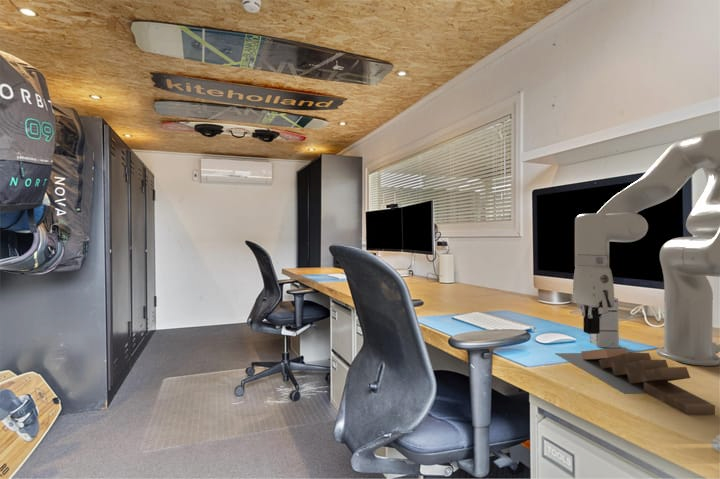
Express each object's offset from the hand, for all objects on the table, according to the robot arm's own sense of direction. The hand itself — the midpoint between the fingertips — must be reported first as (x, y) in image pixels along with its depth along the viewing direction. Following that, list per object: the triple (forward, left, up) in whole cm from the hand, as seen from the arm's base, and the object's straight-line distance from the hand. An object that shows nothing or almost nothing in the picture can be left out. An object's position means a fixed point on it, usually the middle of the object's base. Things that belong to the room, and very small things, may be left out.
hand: (591, 332), depth 97 cm
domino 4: (0, +16, -6) cm, 17 cm away
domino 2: (0, +7, -6) cm, 9 cm away
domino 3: (0, +11, -6) cm, 13 cm away
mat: (+1, +8, -7) cm, 11 cm away
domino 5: (0, +20, -6) cm, 21 cm away
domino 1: (0, 0, -6) cm, 6 cm away
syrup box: (-12, -13, -7) cm, 19 cm away
